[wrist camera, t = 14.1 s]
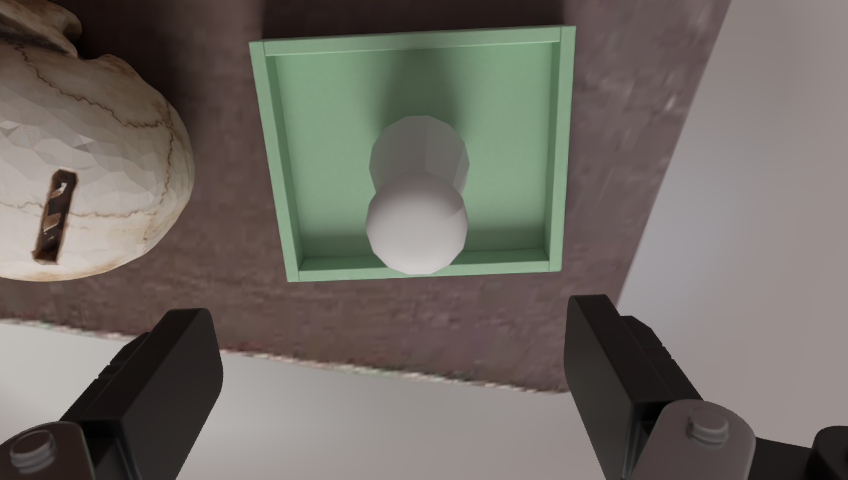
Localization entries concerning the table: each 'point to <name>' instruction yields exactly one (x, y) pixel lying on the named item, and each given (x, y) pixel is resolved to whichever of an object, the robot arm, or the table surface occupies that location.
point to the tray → (418, 96)
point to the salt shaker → (418, 195)
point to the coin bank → (80, 152)
